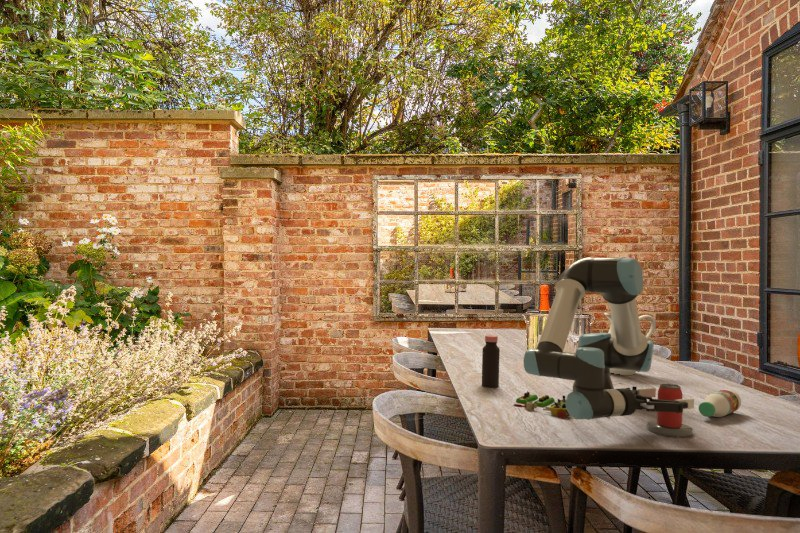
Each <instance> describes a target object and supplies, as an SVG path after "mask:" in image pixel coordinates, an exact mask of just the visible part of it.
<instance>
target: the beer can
mask: <svg viewBox="0 0 800 533" xmlns="http://www.w3.org/2000/svg"><path fill="white" fill-rule="evenodd" d="M657 399H660V400H670V401H675V400H678V399H683V392H682V387H681V386H680V385H678V384H673V383H661V384H659V388H658V389H657ZM656 412H657V415H656V420H657V423H658V424H659V425H660V426H662V427H666V428H672V429H677V428H680V427H681V426H682V424H683V412H682V413H676V412H660V411H656Z"/></svg>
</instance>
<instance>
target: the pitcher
mask: <svg viewBox="0 0 800 533" xmlns="http://www.w3.org/2000/svg"><path fill="white" fill-rule="evenodd" d="M603 315H604V316H605V317H606V318H607V319H608V320H609V322H610V325H609V326H610V327H609V330H608V332H607V333H610V334H611V337H614V338H615V336H616V334H615V330H614V325H613V321H612V317H611V313H610V312H609V313H608V312H604V313H603ZM638 316H639V315H638ZM644 319H648V320H649V321H650V328H649V330H648V332H647V333H646V335H645V336H646V338H647V340H650V339H649V338H651V336H652V335H653V334H654V332H655V330H656V328H657V327H656V326H657V323H656V320H655V318H654V317H653V316H651V315H649V314H642V315H640V316H639V322H640V321H641V320H644ZM611 373H614V374H613V375H616V374H620V375H619V376H633V374H634V375H635V374H636V373H637V371H629V370H622V369H613V368H610V374H611Z"/></svg>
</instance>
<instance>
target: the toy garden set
mask: <svg viewBox="0 0 800 533" xmlns="http://www.w3.org/2000/svg"><path fill="white" fill-rule="evenodd" d="M515 399H516V400H515V402H516V403H515V404H513V406H515V407H519V408H520V407H521V408H525V410H527V411H534V410H536V409H537V410H539V409H540V408H538V407H542V411H548V412H550V413H551V414H552V416H554V417H557V418H560V419H566V417H567V416H570V415H569V413H568V411H567V409H566V396H565V395H562V399H560V398H557V401H556V402H555V398H554V397H550V396H549V395H548V394H545V395H543V396H541V397H539V398H538V395H537V394H535V393H534V394H531V392H530V391H529V390H527V392H524V394H523V395H522V396H519V397H518V398H515ZM519 403H520V404H519ZM522 404H523V405H522ZM549 405H550V407H549Z"/></svg>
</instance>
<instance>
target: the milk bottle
mask: <svg viewBox="0 0 800 533" xmlns="http://www.w3.org/2000/svg"><path fill="white" fill-rule="evenodd" d="M741 405H742V400H741V397H740V395H739V393H737V392H736V391H734V390H733V389H729V388H723V389H720V390H718V391H716V392H712V393H710V394H708V395H707V396H705V398H704V399H703V402H701V403H700V404H699V405H698V412H699V413H700V414H701V415H702V416H703V417H709V418H710V417H714V418H721V417H725V416H728V415H730V414H732V413H734V412H736V411H737V410H739V409H740V408H741Z"/></svg>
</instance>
